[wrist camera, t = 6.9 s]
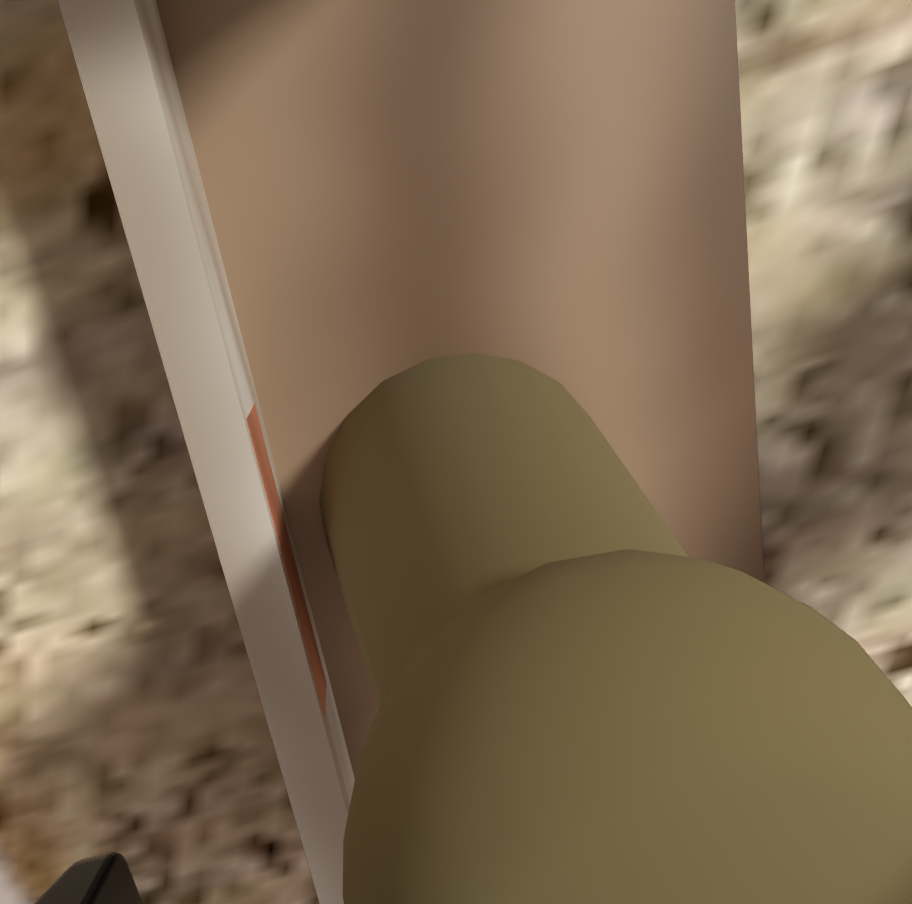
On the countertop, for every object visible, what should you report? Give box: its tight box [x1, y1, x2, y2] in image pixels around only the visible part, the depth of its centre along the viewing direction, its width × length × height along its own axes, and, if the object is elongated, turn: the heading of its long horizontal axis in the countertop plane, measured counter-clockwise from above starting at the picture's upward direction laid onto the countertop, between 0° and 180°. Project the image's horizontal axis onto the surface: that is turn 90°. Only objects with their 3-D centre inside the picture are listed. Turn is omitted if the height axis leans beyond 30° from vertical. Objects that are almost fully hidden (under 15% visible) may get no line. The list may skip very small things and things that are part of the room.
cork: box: [319, 353, 912, 904], centre depth 10 cm, size 6×6×11 cm
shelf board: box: [58, 0, 764, 904], centre depth 13 cm, size 11×28×3 cm, turn 10°
